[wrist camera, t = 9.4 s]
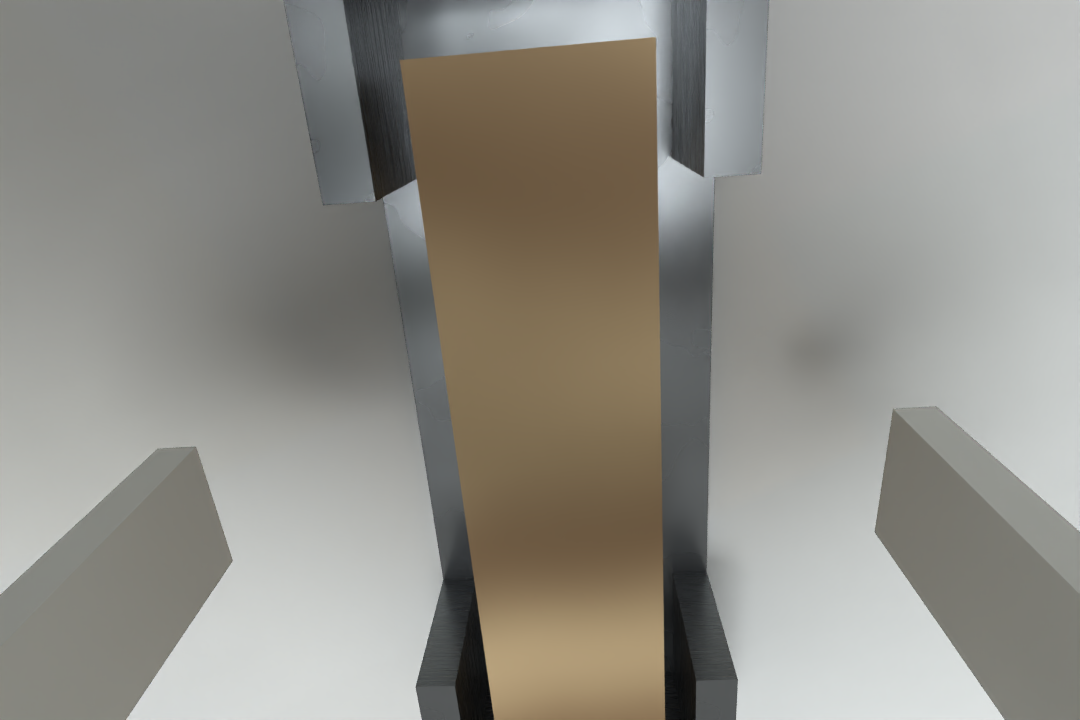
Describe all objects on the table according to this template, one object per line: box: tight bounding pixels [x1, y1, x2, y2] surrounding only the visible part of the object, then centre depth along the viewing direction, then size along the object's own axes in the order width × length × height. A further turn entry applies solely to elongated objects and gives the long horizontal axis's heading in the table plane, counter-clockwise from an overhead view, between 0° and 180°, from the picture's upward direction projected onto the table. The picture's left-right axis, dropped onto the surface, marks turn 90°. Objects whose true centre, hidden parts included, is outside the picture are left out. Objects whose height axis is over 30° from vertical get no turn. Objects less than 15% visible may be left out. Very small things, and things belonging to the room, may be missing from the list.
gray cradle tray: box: [284, 0, 769, 720], centre depth 16 cm, size 22×8×5 cm, turn 4°
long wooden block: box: [400, 37, 665, 720], centre depth 16 cm, size 18×4×5 cm, turn 4°
